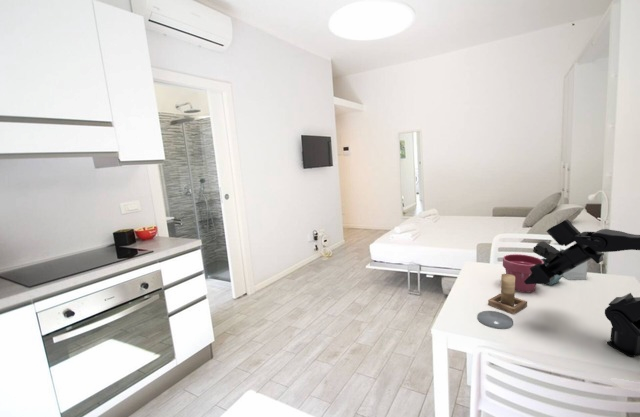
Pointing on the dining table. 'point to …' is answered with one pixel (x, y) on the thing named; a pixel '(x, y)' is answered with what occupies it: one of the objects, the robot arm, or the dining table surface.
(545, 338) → the dining table surface
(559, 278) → the flower pot
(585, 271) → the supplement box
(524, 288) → the plant pot
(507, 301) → the oak post
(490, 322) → the slate coaster
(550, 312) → the dining table surface
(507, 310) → the pocket frame
